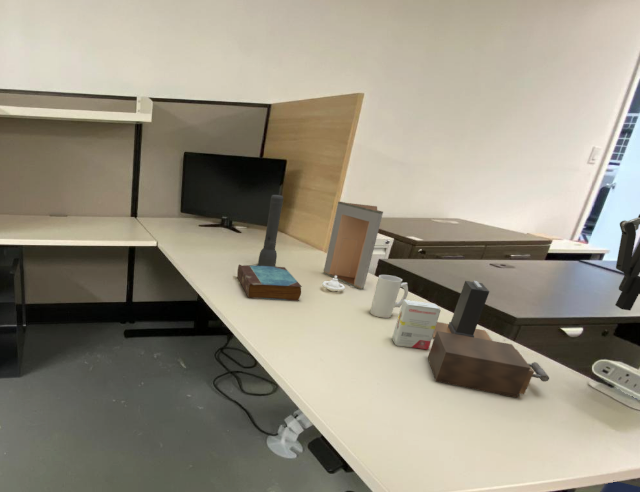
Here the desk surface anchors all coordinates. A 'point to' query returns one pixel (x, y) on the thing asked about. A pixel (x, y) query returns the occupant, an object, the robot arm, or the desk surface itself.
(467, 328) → the dark grey upright block
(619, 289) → the robot arm
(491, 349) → the cabinet
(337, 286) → the ring around a ball
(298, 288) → the book
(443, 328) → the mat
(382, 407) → the desk surface
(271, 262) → the flashlight
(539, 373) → the drawer
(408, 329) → the ink box
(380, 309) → the mug
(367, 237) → the cabinet
